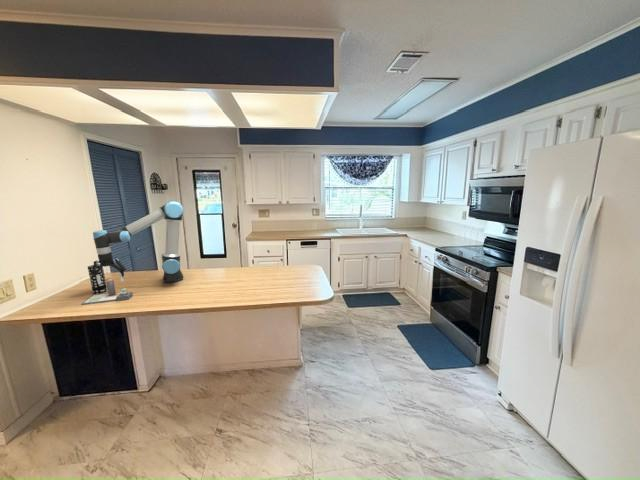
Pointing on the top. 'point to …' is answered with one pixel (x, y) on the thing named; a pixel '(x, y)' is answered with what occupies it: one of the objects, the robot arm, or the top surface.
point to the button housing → (124, 296)
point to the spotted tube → (94, 283)
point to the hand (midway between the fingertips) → (111, 282)
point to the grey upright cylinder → (110, 286)
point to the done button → (123, 291)
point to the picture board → (101, 298)
